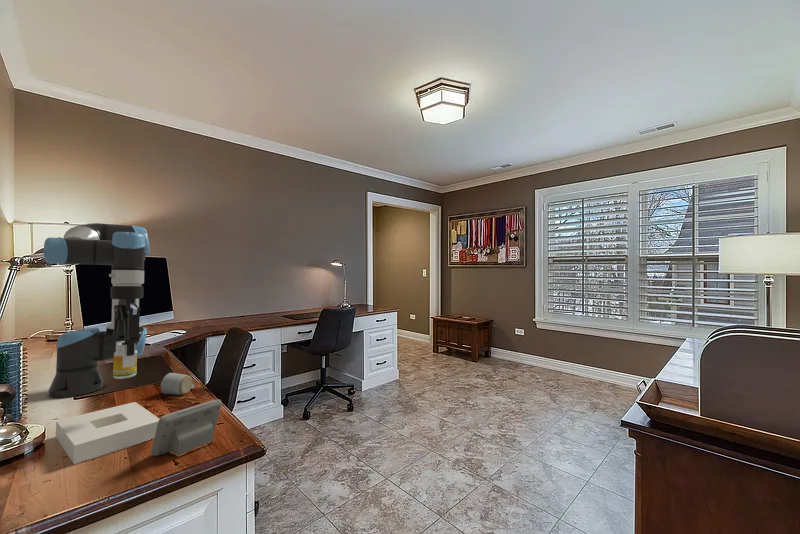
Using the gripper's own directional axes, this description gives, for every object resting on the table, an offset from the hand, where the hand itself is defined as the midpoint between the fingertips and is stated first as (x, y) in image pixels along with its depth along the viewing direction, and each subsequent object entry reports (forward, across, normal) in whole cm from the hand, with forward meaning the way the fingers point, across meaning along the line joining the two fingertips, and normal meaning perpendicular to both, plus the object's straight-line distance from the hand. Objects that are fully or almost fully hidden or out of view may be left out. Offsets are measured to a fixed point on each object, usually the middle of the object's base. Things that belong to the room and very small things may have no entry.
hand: (125, 364), depth 99 cm
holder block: (+19, +1, -4) cm, 19 cm away
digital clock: (+20, +24, +8) cm, 32 cm away
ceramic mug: (+19, -22, +24) cm, 38 cm away
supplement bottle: (+3, 0, 0) cm, 3 cm away
